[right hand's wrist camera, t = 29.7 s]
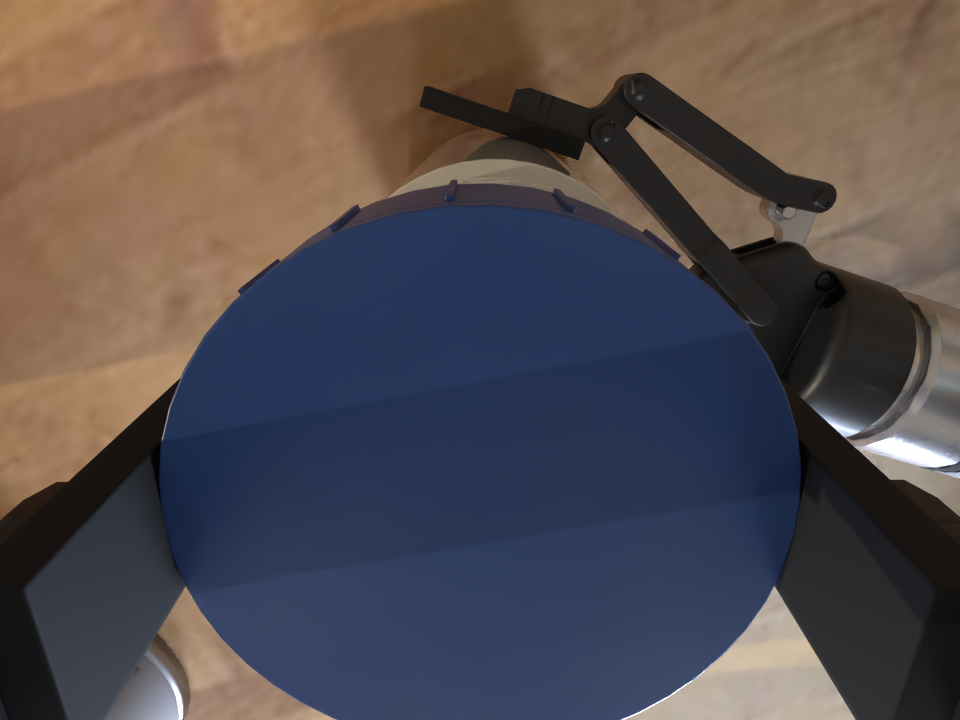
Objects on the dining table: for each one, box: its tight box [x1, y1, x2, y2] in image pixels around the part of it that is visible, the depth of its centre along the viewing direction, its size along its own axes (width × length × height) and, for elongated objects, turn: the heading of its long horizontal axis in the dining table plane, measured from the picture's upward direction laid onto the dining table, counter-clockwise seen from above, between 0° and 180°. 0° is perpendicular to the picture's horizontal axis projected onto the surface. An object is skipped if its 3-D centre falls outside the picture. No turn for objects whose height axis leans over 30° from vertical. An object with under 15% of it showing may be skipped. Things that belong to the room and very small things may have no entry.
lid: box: [159, 179, 801, 720], centre depth 11 cm, size 10×10×2 cm
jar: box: [386, 128, 625, 222], centre depth 25 cm, size 9×9×19 cm
